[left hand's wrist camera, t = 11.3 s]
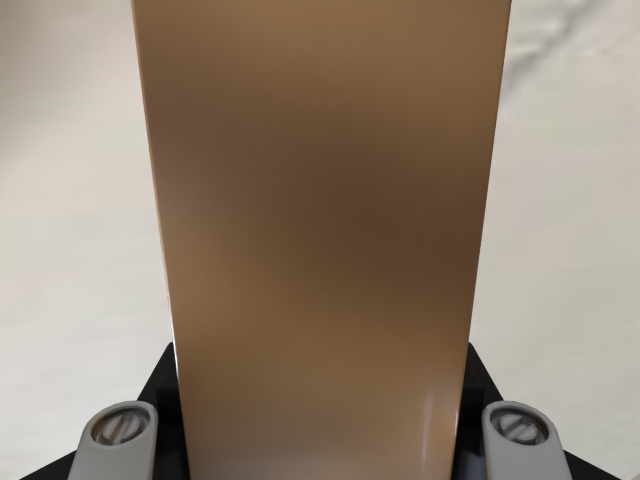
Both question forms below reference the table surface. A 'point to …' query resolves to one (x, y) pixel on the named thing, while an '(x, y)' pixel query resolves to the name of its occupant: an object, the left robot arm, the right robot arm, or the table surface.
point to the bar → (320, 224)
